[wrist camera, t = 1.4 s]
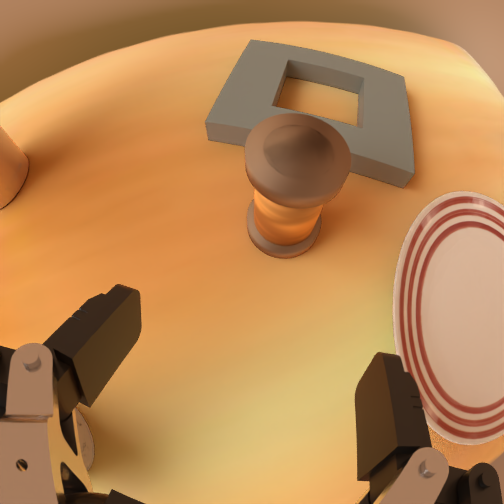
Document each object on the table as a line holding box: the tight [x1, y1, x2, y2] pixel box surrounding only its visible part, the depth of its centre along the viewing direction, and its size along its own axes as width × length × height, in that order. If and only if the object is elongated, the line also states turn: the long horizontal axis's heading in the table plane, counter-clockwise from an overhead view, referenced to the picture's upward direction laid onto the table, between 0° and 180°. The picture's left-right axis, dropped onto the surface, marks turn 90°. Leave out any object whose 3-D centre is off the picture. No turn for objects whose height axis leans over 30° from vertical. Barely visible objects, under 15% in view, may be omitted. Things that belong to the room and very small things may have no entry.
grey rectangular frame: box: [205, 40, 415, 188], centre depth 32 cm, size 22×18×3 cm
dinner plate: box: [393, 191, 504, 445], centre depth 23 cm, size 27×27×3 cm
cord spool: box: [245, 113, 351, 259], centre depth 23 cm, size 7×7×11 cm
